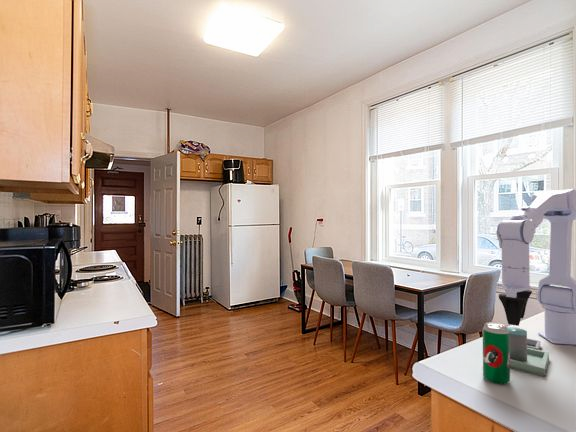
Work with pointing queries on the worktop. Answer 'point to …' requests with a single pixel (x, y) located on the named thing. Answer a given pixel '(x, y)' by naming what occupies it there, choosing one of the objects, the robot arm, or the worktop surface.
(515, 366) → the tray
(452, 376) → the worktop surface
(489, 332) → the soda can
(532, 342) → the collar
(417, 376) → the worktop surface
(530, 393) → the worktop surface
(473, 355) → the worktop surface
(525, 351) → the cylinder
